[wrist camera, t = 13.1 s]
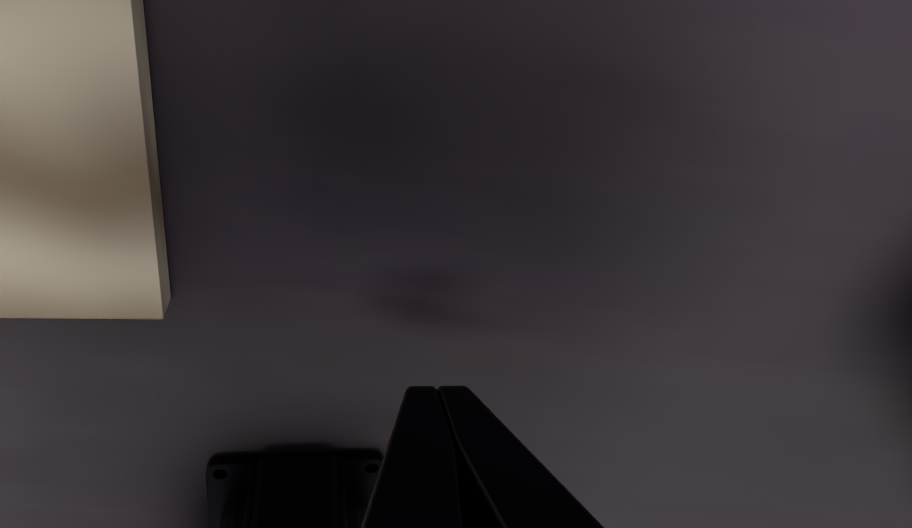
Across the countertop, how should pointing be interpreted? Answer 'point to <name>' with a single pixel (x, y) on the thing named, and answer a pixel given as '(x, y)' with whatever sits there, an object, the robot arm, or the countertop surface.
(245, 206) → the countertop surface
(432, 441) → the robot arm
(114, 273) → the board
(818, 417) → the countertop surface
